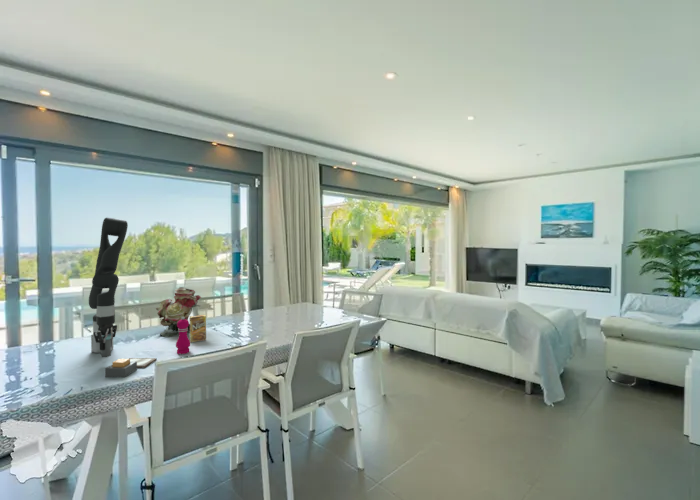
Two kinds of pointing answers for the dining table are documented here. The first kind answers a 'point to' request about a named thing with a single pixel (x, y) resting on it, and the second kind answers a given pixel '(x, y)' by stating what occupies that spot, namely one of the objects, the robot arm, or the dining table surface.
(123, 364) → the button
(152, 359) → the board
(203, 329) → the candy box
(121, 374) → the button housing
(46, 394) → the dining table surface
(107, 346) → the marker
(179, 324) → the pepper mill
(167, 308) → the rose bouquet
